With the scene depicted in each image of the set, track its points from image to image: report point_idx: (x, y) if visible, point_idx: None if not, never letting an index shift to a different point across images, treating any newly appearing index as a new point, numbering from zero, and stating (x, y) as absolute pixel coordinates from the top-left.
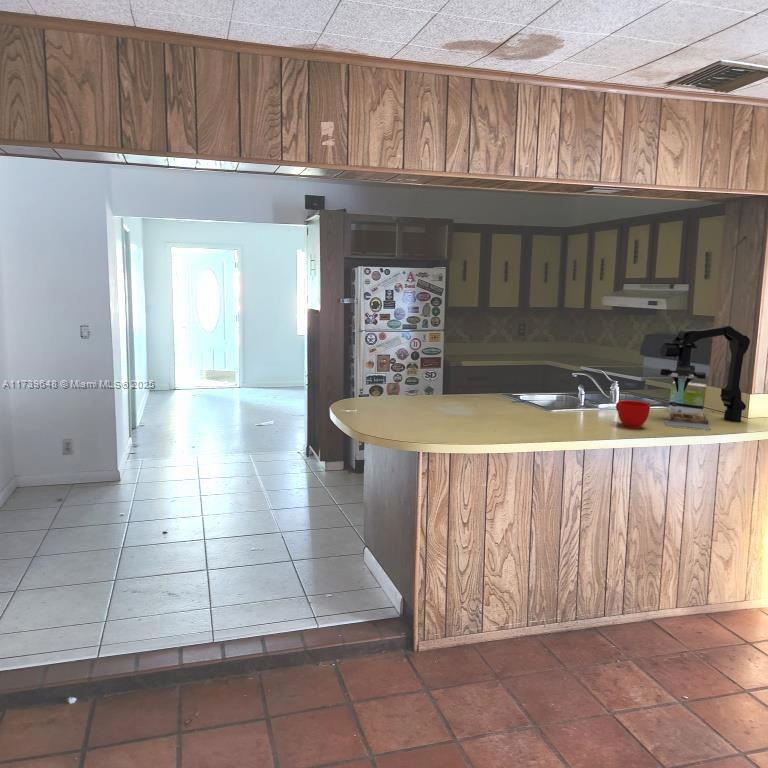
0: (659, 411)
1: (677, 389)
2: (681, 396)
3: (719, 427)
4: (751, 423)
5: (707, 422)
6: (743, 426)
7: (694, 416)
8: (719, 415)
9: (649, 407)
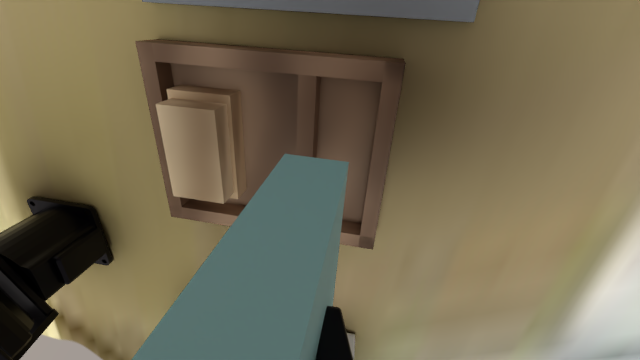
0: (398, 346)
1: (333, 339)
2: (292, 172)
3: (88, 15)
4: (4, 215)
5: (146, 41)
6: (2, 124)
7: (224, 136)
8: (142, 327)
9: None
